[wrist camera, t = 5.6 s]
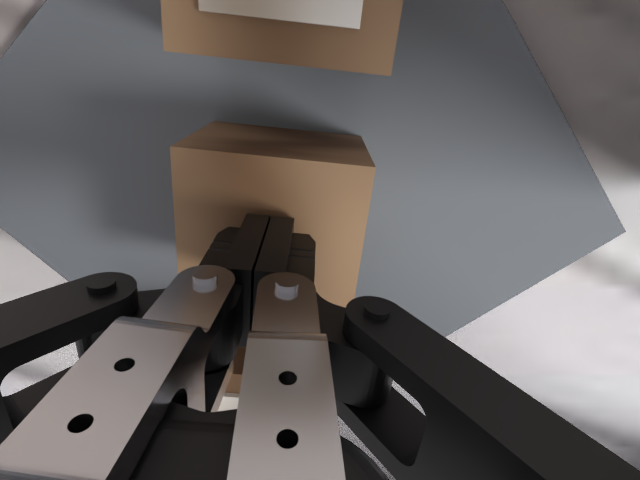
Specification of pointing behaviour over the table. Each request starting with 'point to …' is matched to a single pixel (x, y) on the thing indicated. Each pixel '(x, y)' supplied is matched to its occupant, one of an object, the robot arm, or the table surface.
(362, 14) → the marked block 1
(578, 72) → the table surface
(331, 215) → the plain block
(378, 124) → the mat
